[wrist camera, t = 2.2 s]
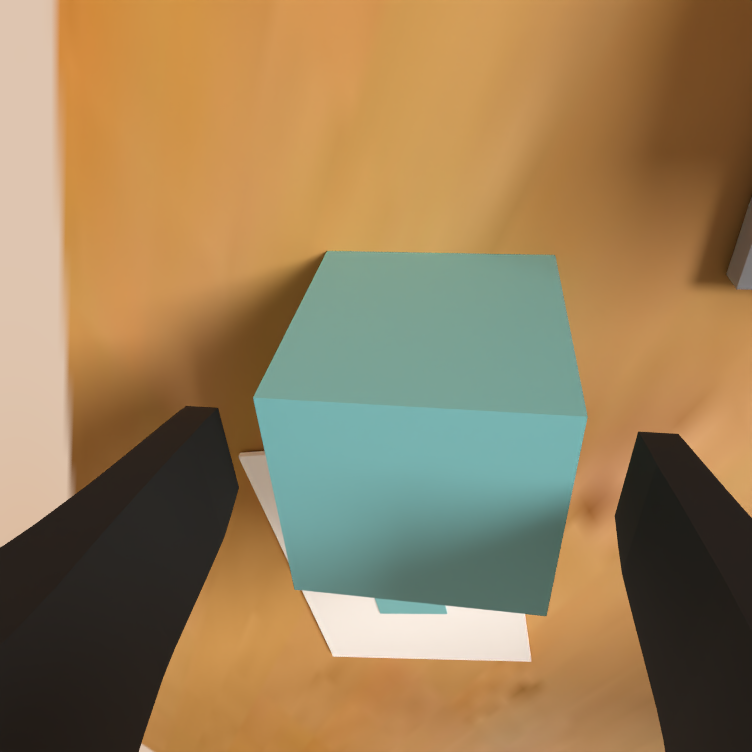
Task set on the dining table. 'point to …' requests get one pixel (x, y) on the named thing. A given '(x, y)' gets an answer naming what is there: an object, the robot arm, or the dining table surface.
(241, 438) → the dining table surface
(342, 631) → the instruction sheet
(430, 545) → the teal brick
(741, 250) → the plate
